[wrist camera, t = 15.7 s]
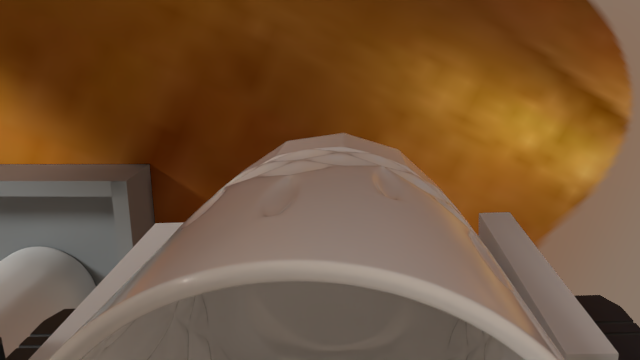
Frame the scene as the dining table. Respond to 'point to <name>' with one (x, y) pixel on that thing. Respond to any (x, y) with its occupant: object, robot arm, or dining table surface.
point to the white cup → (319, 272)
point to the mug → (37, 290)
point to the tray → (76, 210)
